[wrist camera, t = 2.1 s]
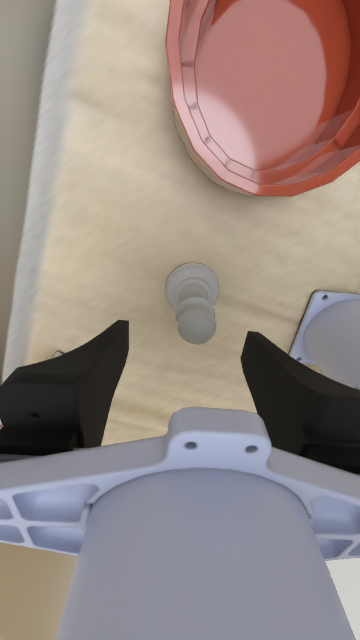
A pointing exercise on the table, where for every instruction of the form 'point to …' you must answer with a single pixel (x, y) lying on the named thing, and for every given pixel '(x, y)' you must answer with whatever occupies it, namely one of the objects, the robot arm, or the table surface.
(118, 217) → the table surface
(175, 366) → the table surface
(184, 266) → the chess piece
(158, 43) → the table surface
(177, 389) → the table surface
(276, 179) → the bowl
